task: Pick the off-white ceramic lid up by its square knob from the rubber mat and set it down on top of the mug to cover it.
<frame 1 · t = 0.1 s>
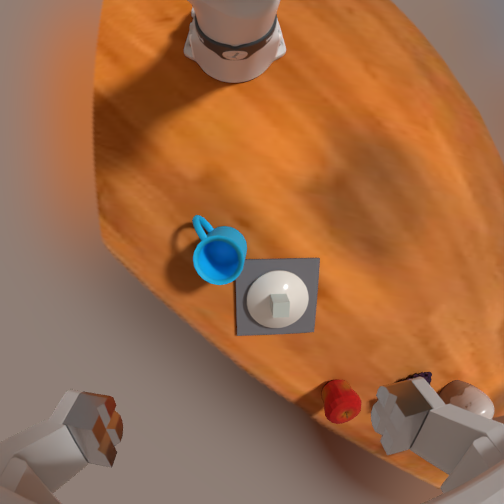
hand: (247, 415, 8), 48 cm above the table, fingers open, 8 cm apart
mug: (218, 239, 55), on the table, touching mat
lid: (277, 298, 58), point 1 cm above the table, touching mat
fruit: (404, 383, 69), on the table
apple: (333, 386, 67), on the table
mat: (277, 297, 59), on the table
vase: (448, 391, 72), on the table
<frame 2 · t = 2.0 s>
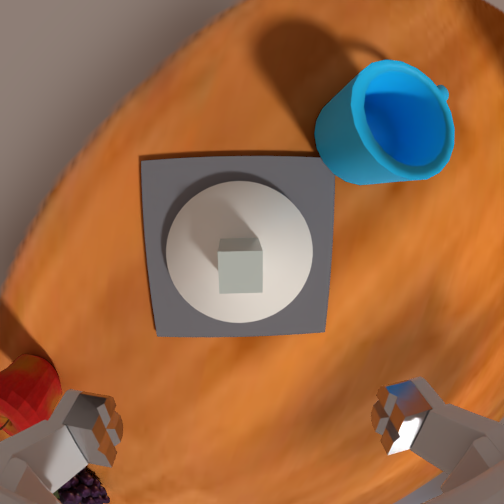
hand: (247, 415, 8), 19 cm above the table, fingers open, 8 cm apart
mug: (373, 129, 24), on the table, touching mat
lid: (239, 253, 25), point 1 cm above the table, touching mat
fruit: (78, 465, 34), on the table
apple: (44, 370, 29), on the table
mat: (239, 251, 26), on the table
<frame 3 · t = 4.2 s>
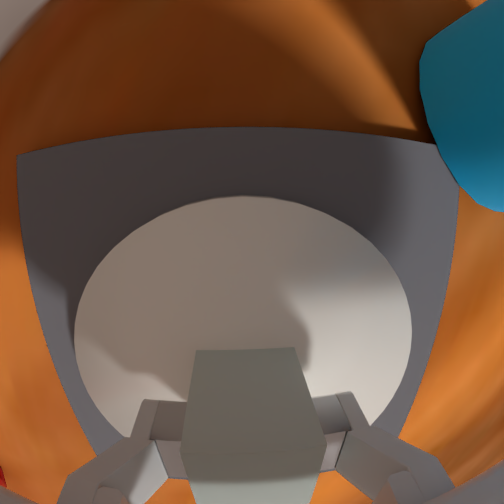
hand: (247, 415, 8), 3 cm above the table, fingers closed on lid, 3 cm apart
mug: (502, 103, 9), on the table, touching mat
lid: (244, 368, 10), point 1 cm above the table, touching gripper, mat
mat: (243, 359, 11), on the table
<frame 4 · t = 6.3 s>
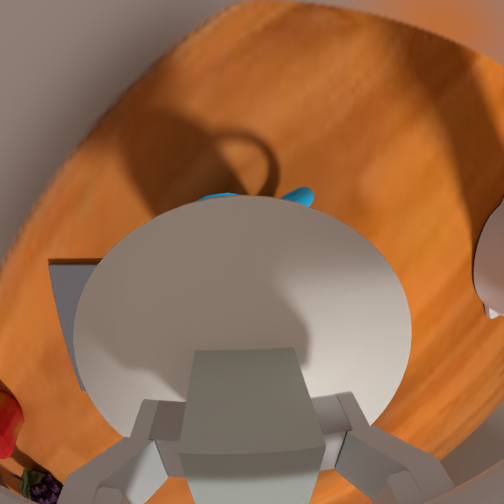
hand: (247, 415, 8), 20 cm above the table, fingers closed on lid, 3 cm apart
mug: (242, 230, 27), on the table, touching mat
lid: (244, 368, 10), point 18 cm above the table, touching gripper
fruit: (48, 476, 36), on the table
apple: (11, 402, 30), on the table
mat: (128, 336, 29), on the table
when the fingers open (12 cm above the table, at t = 8.5 s): lid stays where it is, resting on mug.
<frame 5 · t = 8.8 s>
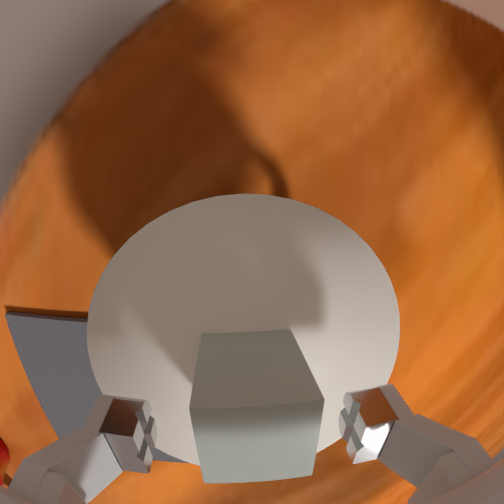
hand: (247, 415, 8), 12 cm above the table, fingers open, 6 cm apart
lid: (245, 355, 11), point 8 cm above the table, tilted 5°, touching mug
mat: (103, 398, 21), on the table
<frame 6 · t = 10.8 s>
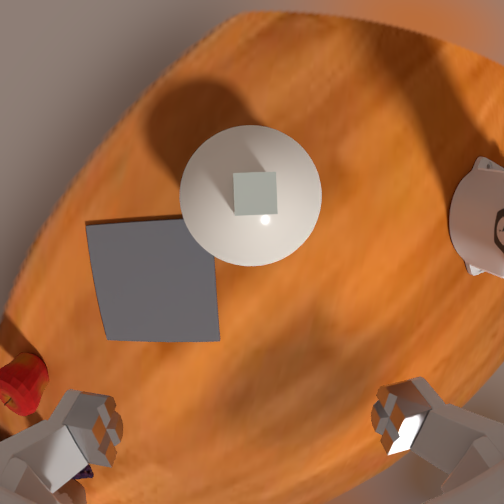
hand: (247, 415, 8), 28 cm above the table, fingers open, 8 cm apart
lid: (250, 195, 26), point 8 cm above the table, tilted 6°, touching mug
fruit: (69, 447, 45), on the table
apple: (37, 364, 39), on the table
mat: (152, 284, 36), on the table
vase: (69, 482, 49), on the table
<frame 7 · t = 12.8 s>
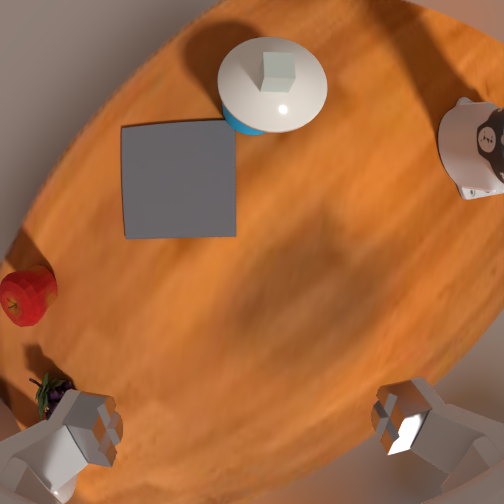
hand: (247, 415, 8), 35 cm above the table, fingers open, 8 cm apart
mug: (263, 100, 38), on the table, touching lid, mat
lid: (272, 83, 29), point 8 cm above the table, tilted 6°, touching mug
fruit: (67, 388, 48), on the table
apple: (46, 281, 42), on the table
mat: (177, 180, 40), on the table
vase: (62, 437, 53), on the table
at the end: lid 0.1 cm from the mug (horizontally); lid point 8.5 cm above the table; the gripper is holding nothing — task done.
